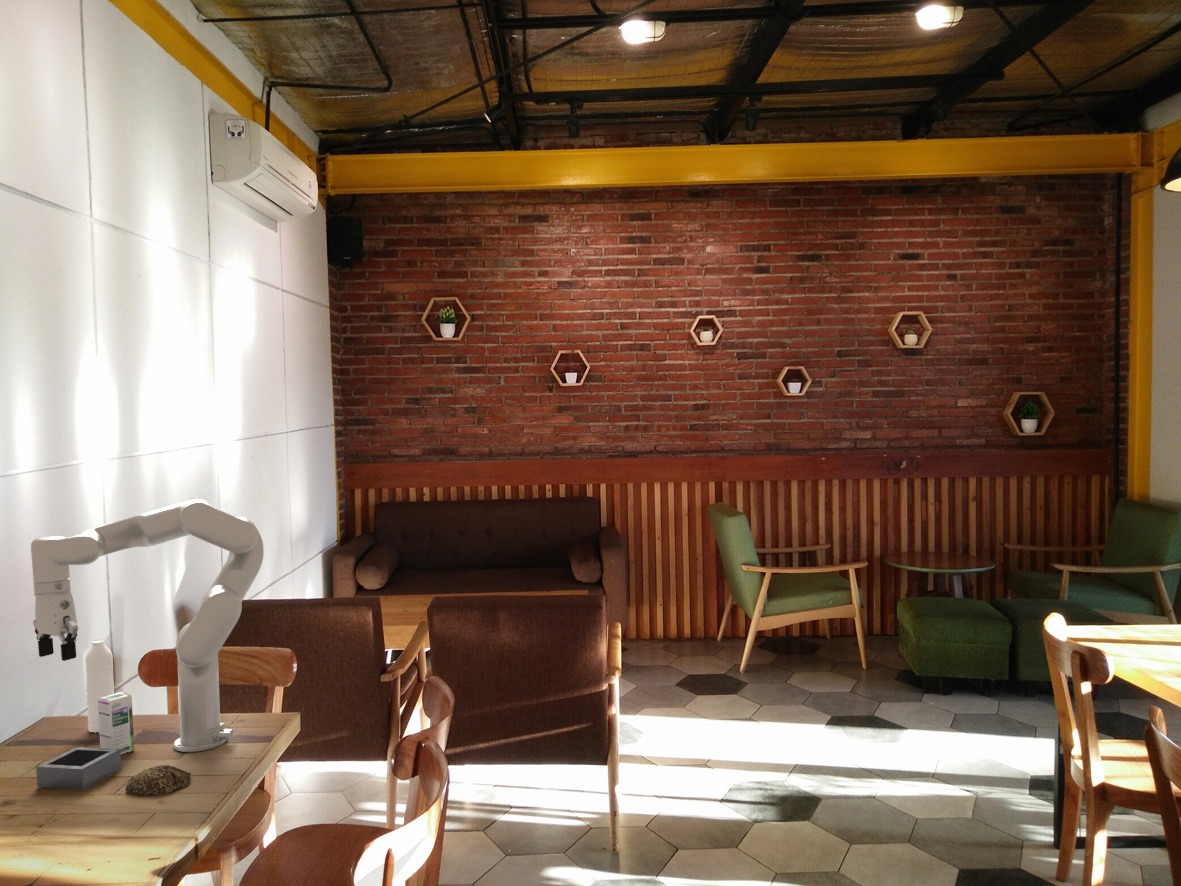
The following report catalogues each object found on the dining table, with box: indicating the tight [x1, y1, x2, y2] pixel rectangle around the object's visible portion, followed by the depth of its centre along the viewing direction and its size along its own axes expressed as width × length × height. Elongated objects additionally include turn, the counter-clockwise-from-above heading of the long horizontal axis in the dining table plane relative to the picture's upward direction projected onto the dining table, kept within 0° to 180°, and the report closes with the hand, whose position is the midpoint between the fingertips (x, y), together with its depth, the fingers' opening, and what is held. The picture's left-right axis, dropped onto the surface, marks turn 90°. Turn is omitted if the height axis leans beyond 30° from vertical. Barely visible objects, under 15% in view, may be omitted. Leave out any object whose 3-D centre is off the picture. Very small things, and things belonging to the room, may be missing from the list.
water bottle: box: [85, 637, 115, 734], centre depth 236 cm, size 9×6×25 cm
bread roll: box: [125, 764, 191, 797], centre depth 199 cm, size 13×12×5 cm
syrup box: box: [98, 691, 135, 756], centre depth 220 cm, size 6×6×14 cm
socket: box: [35, 746, 122, 792], centre depth 204 cm, size 12×12×5 cm
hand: (57, 657), depth 211 cm, fingers open, 9 cm apart
